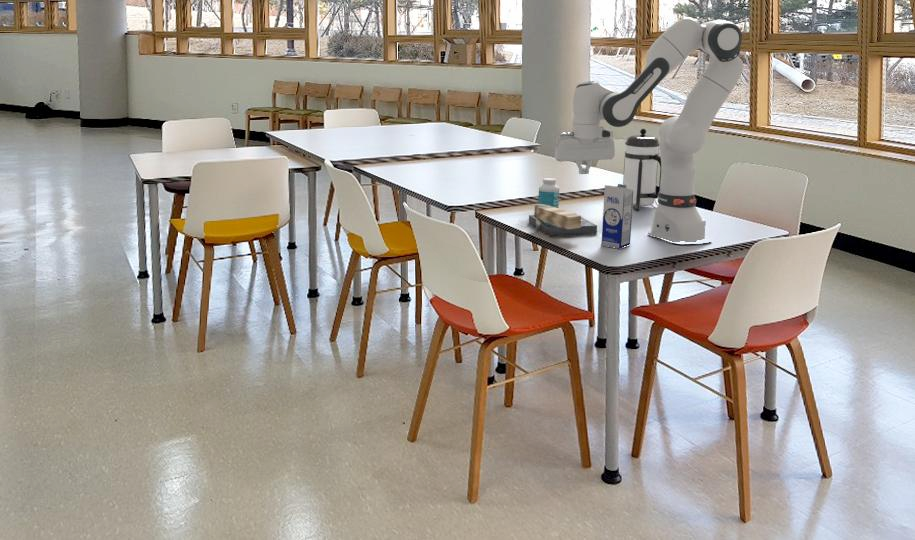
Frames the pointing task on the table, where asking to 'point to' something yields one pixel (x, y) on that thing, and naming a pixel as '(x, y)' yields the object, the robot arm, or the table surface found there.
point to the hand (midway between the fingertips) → (583, 173)
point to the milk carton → (617, 216)
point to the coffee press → (642, 168)
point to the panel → (556, 230)
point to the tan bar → (557, 216)
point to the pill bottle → (549, 193)
